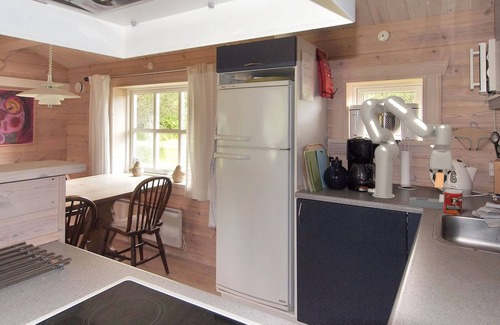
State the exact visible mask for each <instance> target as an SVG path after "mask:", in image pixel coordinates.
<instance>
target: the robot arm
mask: <svg viewBox="0 0 500 325" xmlns="http://www.w3.org/2000/svg"><path fill="white" fill-rule="evenodd" d="M359 108H360V109H359V117H360V118H361V122H362V123H363V125H364V127H365V130H366V132H367V134H368V137H369V139H370V140H371V142H372V143H373V144H379V145H378V146H377V147H376V148H375V150H374V159H375V187H374V188H367V192H368V193H372V194H371V195H372V197H374V198H377V199H394V198H395V194H394V193H393V176H394V175H393V174H394V172H393V170H394V166H393V159H396V158H397V157H398V156H399V154H400V148H399V146H398V144H397V141H396V138H395V137H394V135H393V133H392V131H391V130H390V129H388V128H387V127H382V126H381V123H380V121H379V119H378V117H377V115H375V114H383V113H390V114H392V115H394V116H395V117H396V118H397V119H399V121H401V122H402V123H403V125H404V126H405V127H406V128H407V129H408V130H409V131H411V132H412V133H413V134H414V135H416V136H417V137H419V138H420V139H421V138H422V139H428V138H429V139H430V138H431V139H432V138H434V141H433V142H434V143H433V145H432V144H431V145H430V148H431V149H432V150H431V153H430V159H429V163H428V164H427V165H426V166H425V169H426V170H428V171H429V172H430V173H431V174H432V181H433V182H434V183H435V178H436V171H437V170H438V169H441V170H443V171H444V181H443V182H444V184H446V182H447V181H448V180H447V179H448V175H449V174H452V173H453V172H455V171H456V168H455V167H454V165H453V152H452V150H451V141H452V129H453V127H452V125H450V124H434V123H425V122H424V121H422V120H421V119H420V118H418V117H417V115H416V113H415V110H414V109H413V108H412V107H411V106H409V105H408V104H406V102H405V100H404V99H403V97H402V96H399V95H398V96H397V95H389V96H387V97H386V98H380V99H379V98H368V99H365V100H364V101H363V102H362V104H360V107H359Z"/></svg>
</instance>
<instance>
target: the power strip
mask: <svg viewBox="0 0 500 325" xmlns="http://www.w3.org/2000/svg"><path fill="white" fill-rule="evenodd" d="M408 207H413V208H423V207H424V208H425V209H435V210H442V211H444V194H441V193H440V194H439V199H438V198H426V197H416V196H410V197H409V199H408ZM424 208H423V209H424Z"/></svg>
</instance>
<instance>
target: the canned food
mask: <svg viewBox="0 0 500 325" xmlns="http://www.w3.org/2000/svg"><path fill="white" fill-rule="evenodd" d="M443 192H444V193H443V195H444V210H443V213H444V214H447V215H450V214H452V215H451V216H458V215H457V214H460V215H462V213H463V200H464V199H463V198H464V196H463V194H464V192H463V190H460V189H451V188H450V189H449V188H447V189H444V191H443Z"/></svg>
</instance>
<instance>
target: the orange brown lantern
mask: <svg viewBox="0 0 500 325" xmlns="http://www.w3.org/2000/svg"><path fill="white" fill-rule="evenodd" d="M443 171H444V170H441V169H437V172H436V171H435V173H436V178H435V182H434V188H435V189H444V184H445V183H444V182H443V181H444V174H445V172H443Z"/></svg>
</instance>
